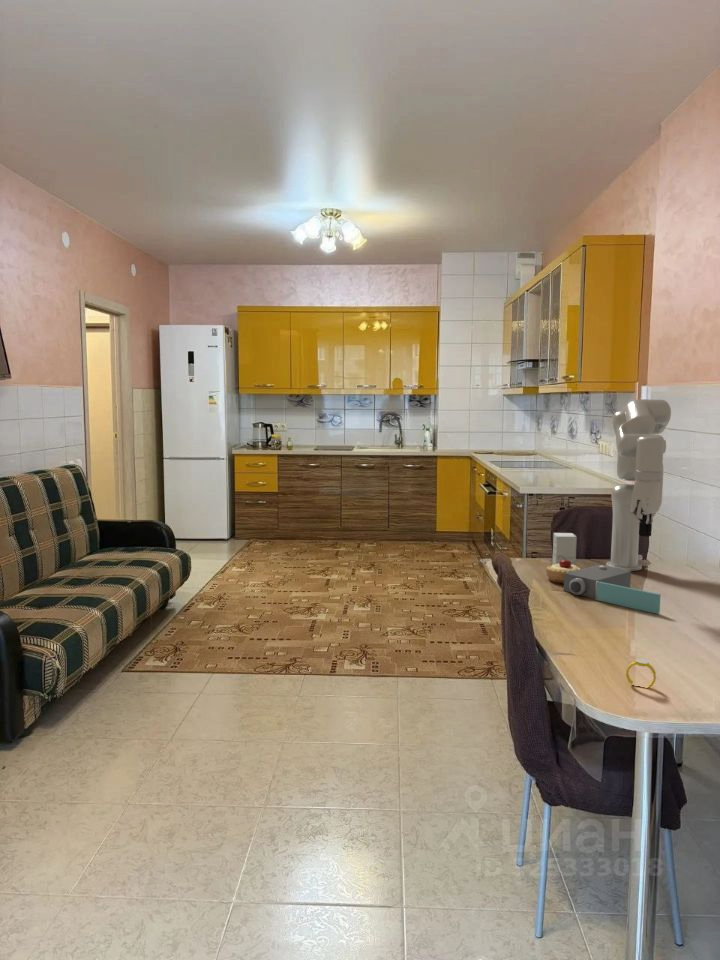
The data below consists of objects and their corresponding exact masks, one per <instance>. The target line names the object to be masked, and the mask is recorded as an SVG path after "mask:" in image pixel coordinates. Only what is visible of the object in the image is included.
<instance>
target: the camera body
mask: <svg viewBox="0 0 720 960" xmlns="http://www.w3.org/2000/svg"><path fill="white" fill-rule="evenodd" d="M631 579H632V571H627V570H622V569H617V568H613V567H608V566H606V565H602V564H596V565H591V566H589V567H583V568H580V569H579V570H575V571H571V572H567V573H564V584H563V591H564V592H566V591H567V593H570V592H571V594H574V595H576V596H582V595H583V596H582V597H586V596H587V597H586V598H590V597H591V599H593V598H595V592H596V581H599V582H604V583H609V584H614V585H618V586H623V587H628V588H631V583H632V582H631Z"/></svg>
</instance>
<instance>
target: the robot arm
mask: <svg viewBox="0 0 720 960" xmlns="http://www.w3.org/2000/svg"><path fill="white" fill-rule="evenodd" d="M624 408H625V409H624V410H618V411H617V412H615V413H614V414H613V415H612V416H613V417H612V428H613V431H614V433H615V445H616V450H617V463H616V473H617V477H618V479H619V480H622V481H625V482H634V483H633V484H630V483H627V484H626V483H625V484H622V483H621V484H618V485H615V486H614V487H613V488H612V490H611V495H610V496H611V506H612V530H611V544H610V545H611V546H610V549H611V550H610V560H609V561H607V562H606V564H605V566H608V567H613V568H617V569H622V570H627V571H631V572H634V571H635V572H636V571H641V570H642V568H643V566H642V565H641V564H640V563H639V561H641V560H643V555H642V554H639V545H640V544H639V543H640V541H639V540H640V536H641V537H647V538H649V537H651V536H652V529H653V527H652V526H653V521H654V516H656V515H657V513H658V512H659V510H660V508H661V506H662V502H663V488H664V487H663V486H664V462H663V460H664V454H666V449H667V441H666V440H665V438H664V436H663V435H660V434H663V432H664V431H665V429H666V428H667V426H668V425H669V423H670V420H671V416H672V409H671V405H670V404H669V403H668V401H666V400H664V399H633V400H631V401H629V402H628V403H627V405H626V406H625V407H624Z"/></svg>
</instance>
